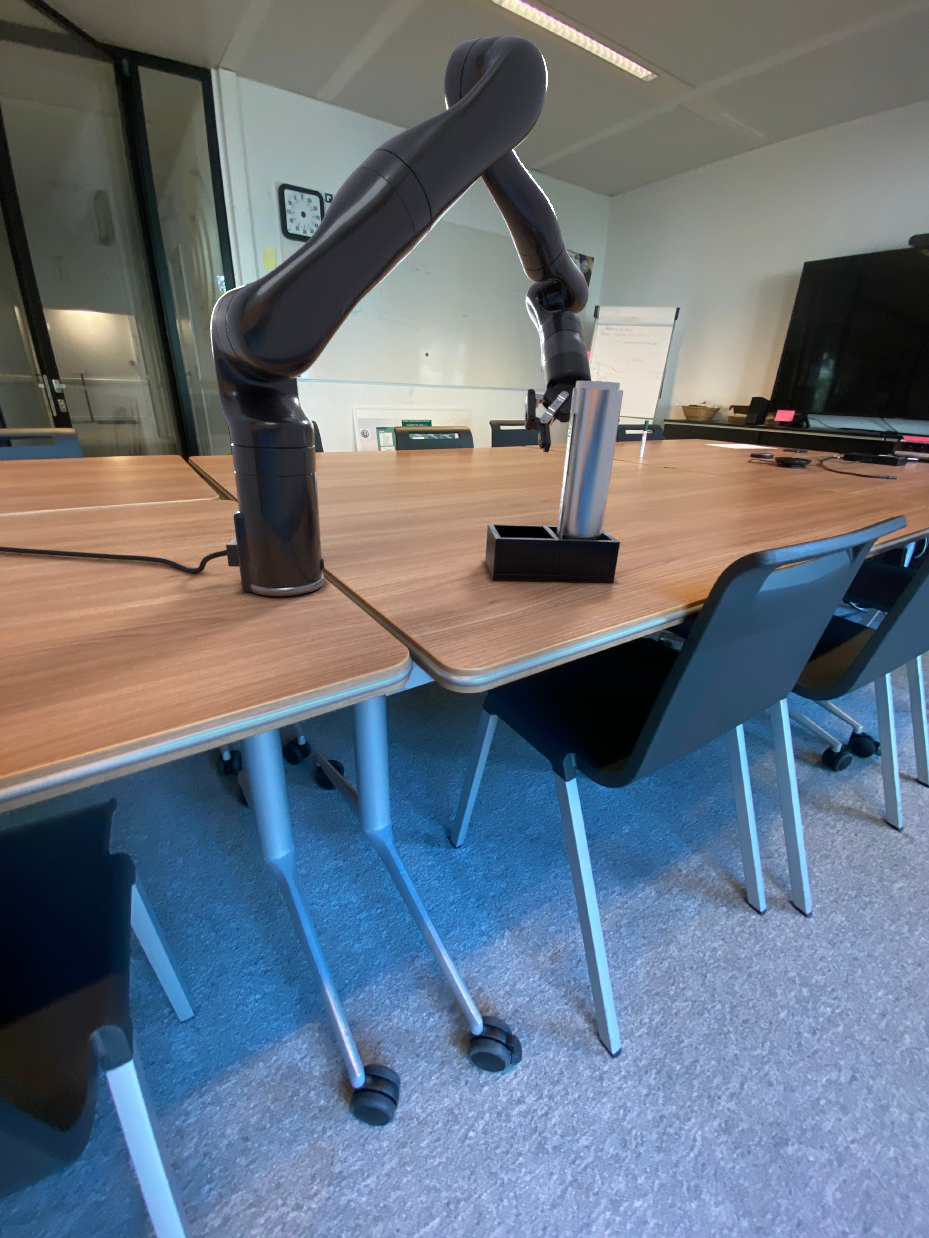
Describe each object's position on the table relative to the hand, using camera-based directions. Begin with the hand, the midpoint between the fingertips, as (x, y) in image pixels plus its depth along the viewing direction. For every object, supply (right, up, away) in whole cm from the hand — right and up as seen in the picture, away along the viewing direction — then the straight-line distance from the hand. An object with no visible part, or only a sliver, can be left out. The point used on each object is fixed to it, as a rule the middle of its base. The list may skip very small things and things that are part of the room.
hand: (575, 450), depth 80 cm
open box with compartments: (-4, -18, -1) cm, 19 cm away
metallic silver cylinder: (0, -17, -1) cm, 17 cm away
